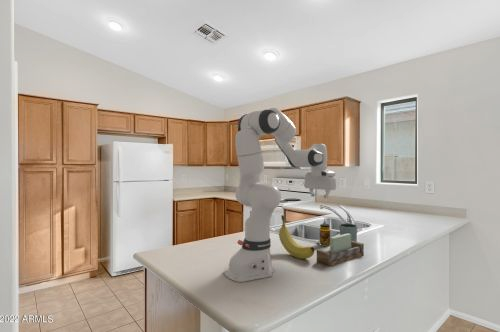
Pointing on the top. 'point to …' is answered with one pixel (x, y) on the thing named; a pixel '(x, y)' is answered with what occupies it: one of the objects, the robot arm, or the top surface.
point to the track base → (340, 254)
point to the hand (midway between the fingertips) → (319, 197)
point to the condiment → (324, 235)
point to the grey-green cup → (349, 230)
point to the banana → (293, 244)
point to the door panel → (340, 243)
